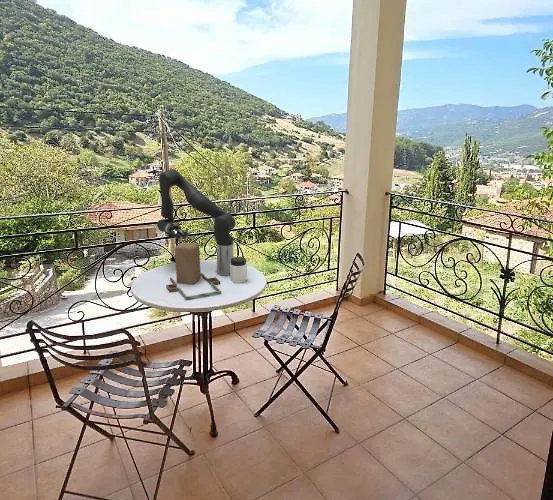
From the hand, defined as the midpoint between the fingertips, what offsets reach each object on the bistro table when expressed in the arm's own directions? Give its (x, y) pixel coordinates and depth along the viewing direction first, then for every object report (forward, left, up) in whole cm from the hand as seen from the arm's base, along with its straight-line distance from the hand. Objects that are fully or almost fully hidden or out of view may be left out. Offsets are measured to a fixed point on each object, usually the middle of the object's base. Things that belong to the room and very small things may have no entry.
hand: (181, 236), depth 210 cm
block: (0, +10, -22) cm, 24 cm away
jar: (-24, +21, -22) cm, 39 cm away
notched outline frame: (0, +20, -22) cm, 30 cm away
